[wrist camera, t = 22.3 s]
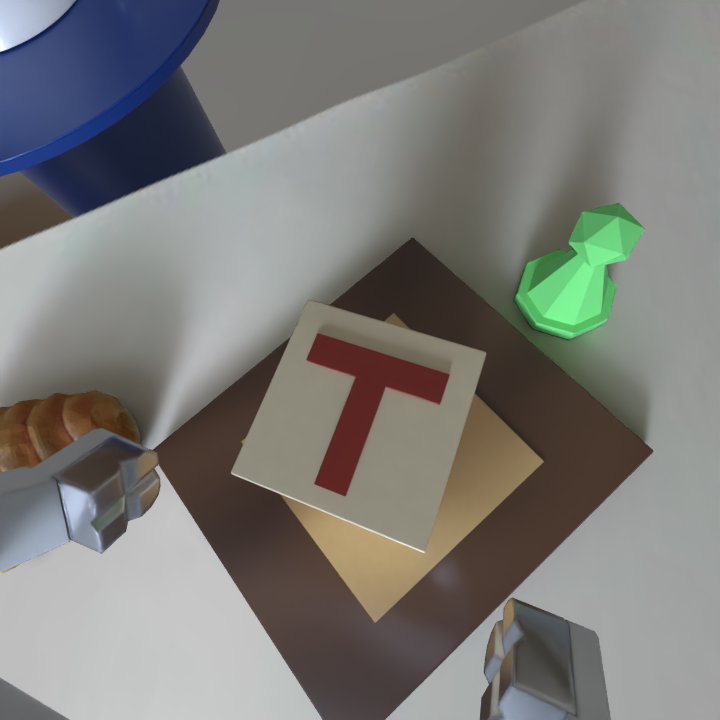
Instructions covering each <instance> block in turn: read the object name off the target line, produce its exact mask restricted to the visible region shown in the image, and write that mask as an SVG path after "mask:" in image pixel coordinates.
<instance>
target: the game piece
mask: <svg viewBox="0 0 720 720" xmlns="http://www.w3.org/2000/svg"><path fill="white" fill-rule="evenodd" d="M644 229H645V228H644V227H643V226H642V225H641V224H640V223H639V222H638V221H637V220H636V219H635V218H634V217H633V216H632V215H631V214H630V213H629V212H628V211H627V210H626V209H625V208H624V207H623V206H622V205H621V204H620V203H616V204H612V205H607V206H603V207H599V208H595V209H590V210H586V211H583V212H582V214H581V216H580V218H579V220H578V222H577V224H576V226H575V229H574V231H573V233H572V235H571V237H570V239H569V241H568V243H569V244H570V245H571V246H572V247H573V248H574V249H572V250H570V251H565V250H561V249H558V250H555V251H553V252H551V253H549V254H547V255H544V256H542V257H540V258H538V259H535V260H533V261H531V262H529V263H527V265H526V267H525V269H524V271H523V275H522V278H521V281H520V284H519V287H518V290H517V294H516V297H515V300H514V301H515V303H516V304H517V306H518V307H519V309H520V310H521V312H522V313H523V315H524V317H525V318H526V320H527V321H528V323H529V324H530V326H531V327H532V329H534V330H537V331H541V332H544V333H547V334H551V335H554V336H558V337H561V338H565V339H568V340H570V339H572V338H574V337H577V336H579V335H581V334H583V333H585V332H588V331H590V330H592V329H594V328H596V327H598V326H601V325H602V324H603V323H604V322H605V321H606V320H607V319H608V318H609V315H610V311H611V307H612V302H613V298H614V294H615V290H616V285H615V284H614V282H613V281H612V280H611V278H610V277H609V276H608V264H610V263H615V262H619V261H623V260H627V258H628V256H629V255H630V253H631V251H632V250H633V248H634V246H635V244H636V243H637V241H638V239H639V237H640V236H641V234H642V232H643V230H644Z"/></svg>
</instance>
